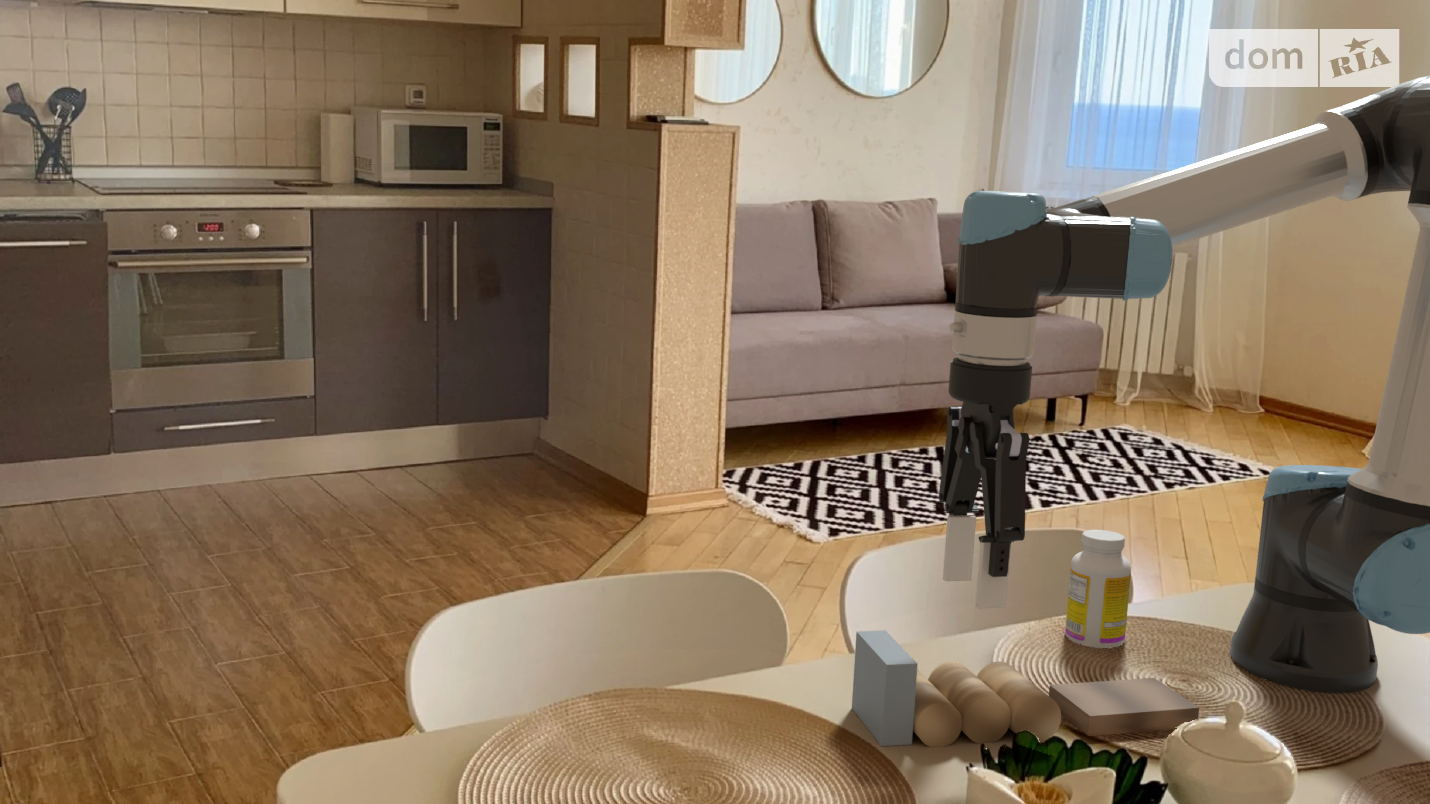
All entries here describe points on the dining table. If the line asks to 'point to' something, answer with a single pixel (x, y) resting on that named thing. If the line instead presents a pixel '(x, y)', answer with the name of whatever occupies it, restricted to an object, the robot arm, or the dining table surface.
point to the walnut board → (1122, 706)
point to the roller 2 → (972, 702)
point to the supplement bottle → (1098, 591)
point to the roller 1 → (934, 715)
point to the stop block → (884, 687)
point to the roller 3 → (1022, 700)
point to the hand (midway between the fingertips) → (973, 592)
